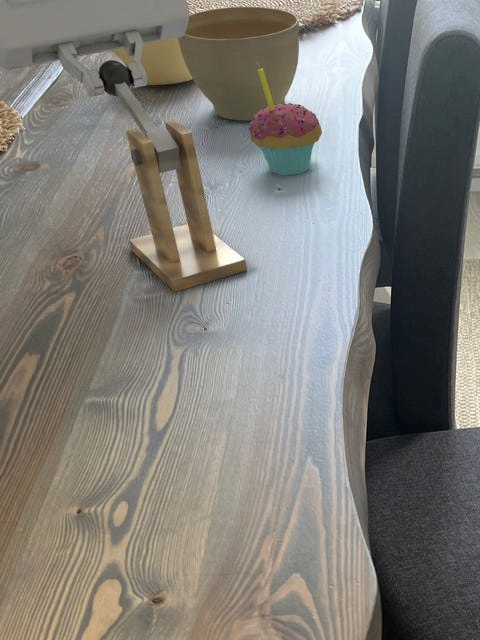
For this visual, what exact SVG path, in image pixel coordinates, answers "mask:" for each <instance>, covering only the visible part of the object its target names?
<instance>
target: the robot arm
mask: <svg viewBox="0 0 480 640" xmlns="http://www.w3.org/2000/svg"><path fill="white" fill-rule="evenodd" d="M189 15H190V6H189V3H188V1H187V0H0V67H1V68H3V69H4V70H14V69H19V68H20V69H21V68H26V67H30V66H35V65H36V66H37V65H40V64H41V65H42V64H47V63H52V62H57V61H59V62H60V65H61V67H62V68H63V70H64V71H66V72H67V73H68V74H69V75H70V76H72V77H73V78H75V80H77V81H78V82H80V83H82V85H83V87H84V90H85V92H86V94H87V96H88V97H89V98H92V97H97V96H103V95H104V94H105V91H104V84H103V81H102V79H100V75H99V73H98V69H97V68H94V69H89V68H87V66H85V65H84V64H83V63H82V62H80V60H79V59H78V57H84V56H88V55H89V56H90V55H94V54H99V53H104V52H105V53H106V52H110V51H114V50H116V49H121V48H125V50H126V52H127V54H128V56H133V55H134V61H133V62H130V63H126V66H125V67H126V68H127V69H128V71H129V73H130V76H131V87H130V88H132V89H136V88H140V87H141V88H142V87H146V86H148V85H147V75H146V72H145V70H144V68H143V66H142V63H141V57H142V46H143V44H148V43H153V42H158V41H164V40H169V39H174V38H180V37H182V36H183V35H184V34H185V31H186V28H187V25H188V21H189Z"/></svg>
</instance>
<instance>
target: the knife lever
mask: <svg viewBox="0 0 480 640" xmlns="http://www.w3.org/2000/svg"><path fill="white" fill-rule="evenodd" d="M97 71H98V73H99V75H100V79H102V81H103V84H104V93H106V94H108V95H109V96H111V97H116V98H117V97H118V98H119V100H120V102H121V103H122V104H123V106H124V108H125V109H126V110H127V112H128V113H129V115H130V116H131V118H132V119H133V121H134V122H135V124H136V126H137V127H138V128H139V130H140V131H141V134H143V135H144V136H145V137H147V138H148V139H149V140H151V141H152V143H153V147H154V151H155V156H156V160H157V164H158V168H159V172H160V174H162V173H167V172H171V171H176V170H175V169H179V168H181V167H180V154H179V147H178V145H177V144H176V142H175V141H174V139H173V138H172V136H171V135H170V133H169V132H168V131H167V129H166V128H163V129H159V130H158V129H157V127H156V125H155V124H154V123H153V121H152V120H151V118H150V117H149V115H148V114H147V112H146V110H145V109H144V108H143V106H142V105H141V103H140V101H139V100H138V99H137V97H136V96H135V95H134V93H133V92H132V90H131V88H132V87H131V76H130V73H129V71H128V69H127V68H126V66H125V65H124V63H123V62H120V61H118V60H113V59H109V60H106V61H104V62H102V64H100V66H99V67H98V69H97Z"/></svg>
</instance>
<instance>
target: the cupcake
mask: <svg viewBox="0 0 480 640" xmlns="http://www.w3.org/2000/svg"><path fill="white" fill-rule="evenodd" d="M256 63H257V66H258V68H259V69H258V73H259V77H260V80H261V83H262V87H263V90H264V93H265V96H266V100H267V103H268V106H269V107H266V108H265V109H262V110H261V111H259V112H258V113H257V114H256V115H254V116H255V117H254V118H253V119H252V120H250V122H249V123H248V126H249V127H248V131H249V133H248V134H249V138H250V141H251V143H253V144H255V145H256V147H259V149H260V151H261V153H262V154H263V156H264V158H265V160H266V162H267V164H268V167H269V170H270V171H271V172H272V173H273V174H276V175H279V176H294V175H295V176H296V175H299V174H303V173H305V172H306V171H308V170H309V169H310V166H311V161H312V159H311V158H312V153H313V148H314V145H315V143H317V142H318V141H319V140H320V138H321V136H322V133H323V130H322V128H321V127H322V126H321V124H320V123H321V122H320V120H319V119H318V118H317V115H316V114H315V113H313V112H312V110H309V109H308V108H306V107H305V106H304V105H301V104H300V103H299V104H296V103H291V102H288V103H285V104H278V105H276V104H273V100H272V97H271V94H270V90H269V87H268V84H267V80H266V77H265V74H264V71H263V69H261V68H260V66H259V64H258V62H256Z"/></svg>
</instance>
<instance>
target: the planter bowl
mask: <svg viewBox="0 0 480 640" xmlns="http://www.w3.org/2000/svg"><path fill="white" fill-rule="evenodd" d="M299 22H300V21H299V18H298V16H297V15H296V14H295V13H292V12H290V11H287V10H285V9H281V8H274V7H266V6H264V7H263V6H229V7H219V8H212V9H206V10H202V11H196V12H193V13H191V14H190V13H189V21H188V25H187V28H186V31H185V34H184V35H183V36H182V37H180V38H177V39H178V41H179V45H180V49H181V53H182V56H183V59H184V62H185V64H186V66H187V69H188V71H189V73H190V74H191V76H192V78H193V79H192V80H193V81H194V83H195V84H196V86H197V88H198V89H199V91H201V92H200V93H202V94H203V95H204V97H205V98H206V99H207V100H208V101H209V102H210V103H211V104H212V107H213V110H214V112H215V114H216V115H217V116H218V117H220V118H223V119H226V120H233V121H246V122H247V121H248V122H251V121H252V119H253V118H254V117H255V116H254V115H256V114H257V113H258V112H259V111H261V110H262V109H265V108H266V107H269V106H268V103H267V100H266V96H265V93H264V90H263V87H262V83H261V80H260V77H259V73H258V69H259V68H258V66H257V63H256V62H258V64H259V66H260V68H261V69H263V71H264V74H265V77H266V80H267V84H268V87H269V90H270V94H271V97H272V100H273V104H276V105H278V104H286V102H285V101H286V97H287V95H288V93H289V92H290V89H291V87H292V85H293V81H294V79H295V76H296V73H297V68H298V63H299V56H300V55H299V54H300V40H299V29H300V23H299Z"/></svg>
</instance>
